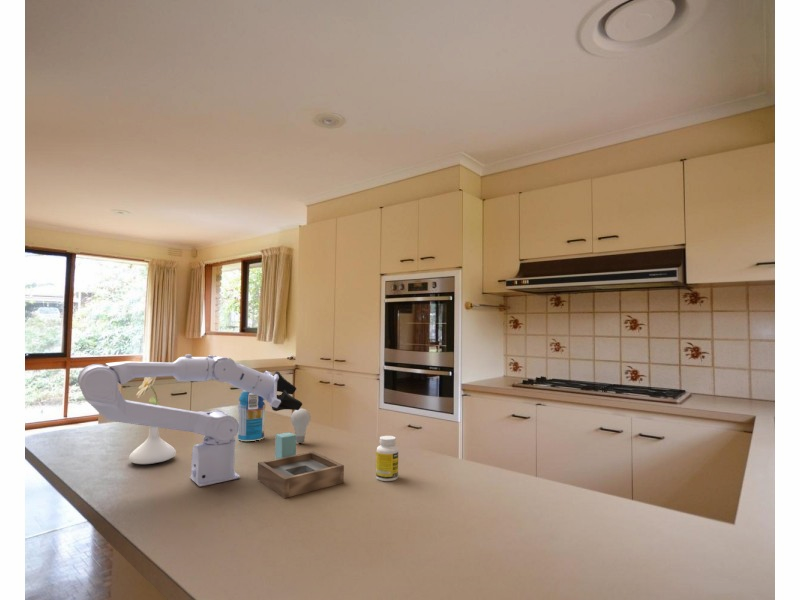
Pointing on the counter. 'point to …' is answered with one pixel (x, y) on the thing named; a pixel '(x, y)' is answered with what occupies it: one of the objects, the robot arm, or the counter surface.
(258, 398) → the beverage bottle
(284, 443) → the peg
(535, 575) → the counter surface
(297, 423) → the lightbulb
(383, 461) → the supplement bottle
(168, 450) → the flower in vase
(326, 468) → the bore box
